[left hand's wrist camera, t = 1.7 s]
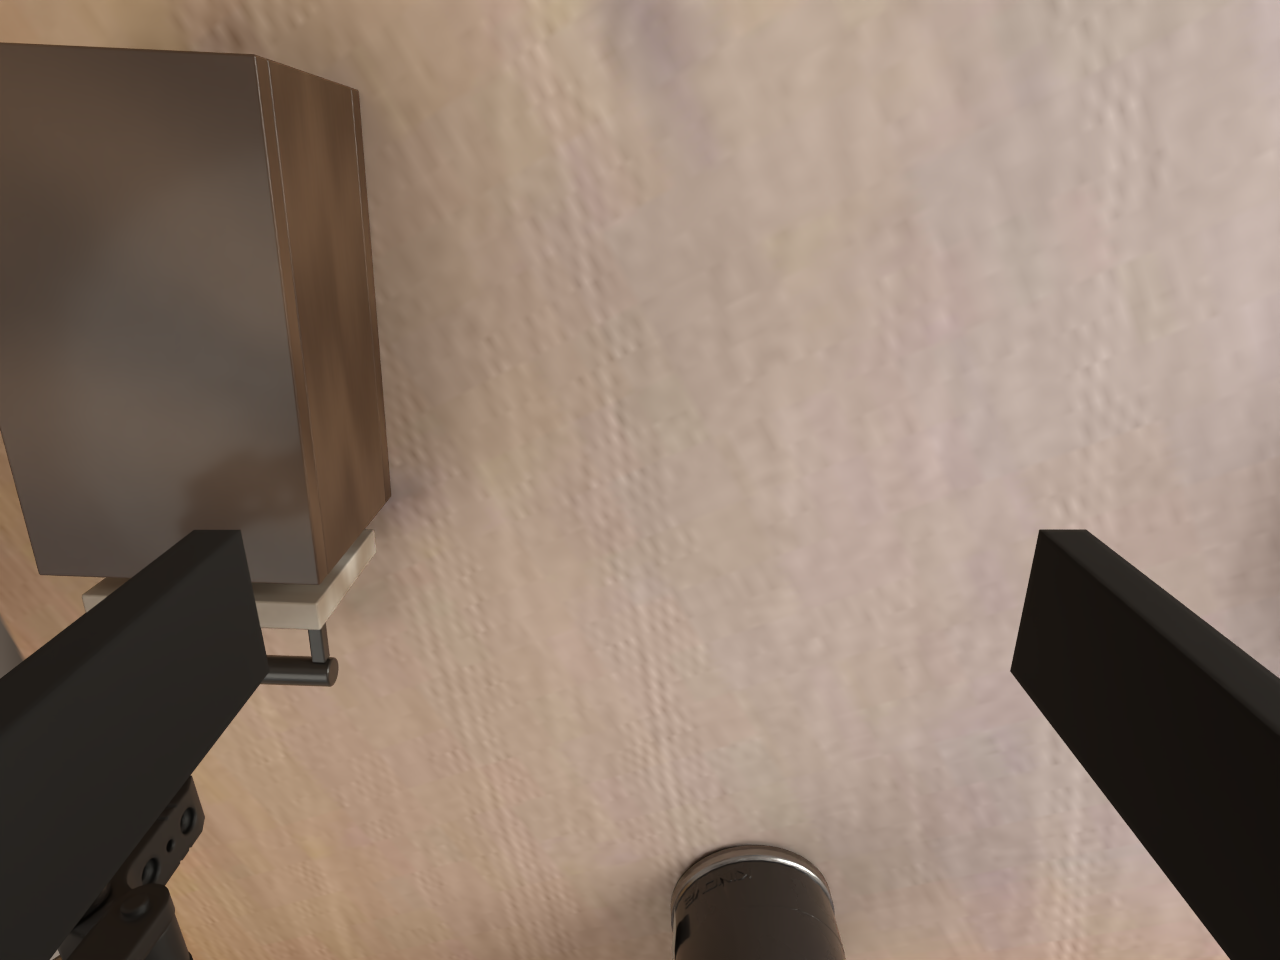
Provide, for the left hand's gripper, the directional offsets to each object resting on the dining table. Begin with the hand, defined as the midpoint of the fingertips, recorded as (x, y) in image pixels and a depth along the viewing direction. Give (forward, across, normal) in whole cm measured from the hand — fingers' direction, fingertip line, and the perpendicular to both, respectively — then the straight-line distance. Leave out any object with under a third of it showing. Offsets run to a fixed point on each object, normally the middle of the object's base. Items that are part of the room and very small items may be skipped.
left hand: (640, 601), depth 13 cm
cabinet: (+22, -16, +2) cm, 28 cm away
